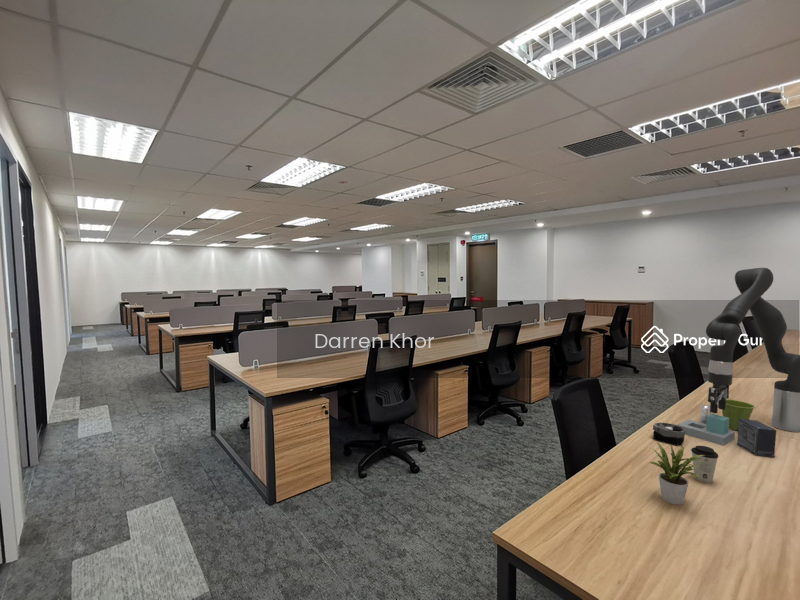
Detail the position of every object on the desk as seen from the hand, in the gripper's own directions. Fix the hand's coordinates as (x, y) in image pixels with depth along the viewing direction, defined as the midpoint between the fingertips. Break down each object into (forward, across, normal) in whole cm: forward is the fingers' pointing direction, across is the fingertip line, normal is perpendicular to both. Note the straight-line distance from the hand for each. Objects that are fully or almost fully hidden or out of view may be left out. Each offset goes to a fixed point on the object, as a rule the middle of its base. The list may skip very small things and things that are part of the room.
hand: (717, 410), depth 154 cm
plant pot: (+12, -21, 0) cm, 24 cm away
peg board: (+12, 0, -4) cm, 12 cm away
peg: (+11, -9, -7) cm, 16 cm away
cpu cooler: (+12, +19, -10) cm, 24 cm away
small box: (+12, +1, +12) cm, 17 cm away
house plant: (+12, +67, +12) cm, 69 cm away
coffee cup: (+12, +44, +10) cm, 47 cm away
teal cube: (+8, 0, 0) cm, 9 cm away
